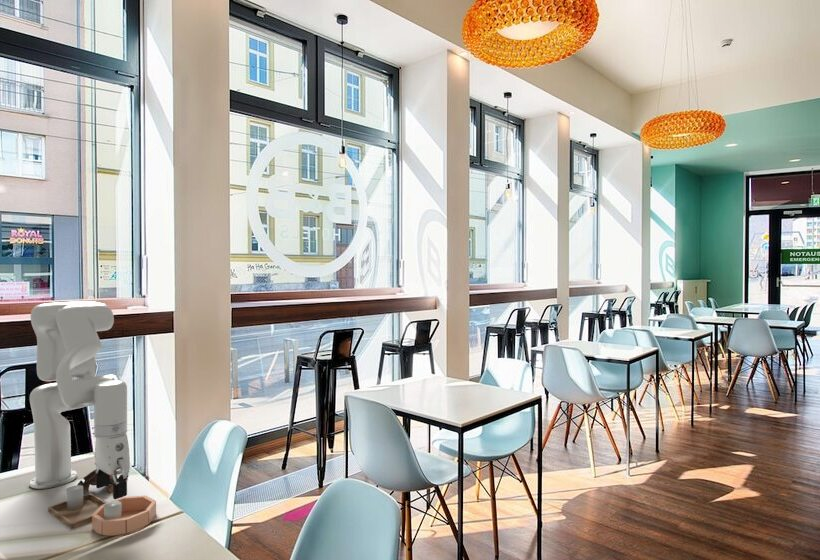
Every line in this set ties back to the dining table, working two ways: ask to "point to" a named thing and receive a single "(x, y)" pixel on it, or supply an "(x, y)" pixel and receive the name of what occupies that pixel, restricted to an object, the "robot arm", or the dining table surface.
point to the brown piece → (94, 481)
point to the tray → (77, 511)
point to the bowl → (126, 516)
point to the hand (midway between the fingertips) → (111, 491)
